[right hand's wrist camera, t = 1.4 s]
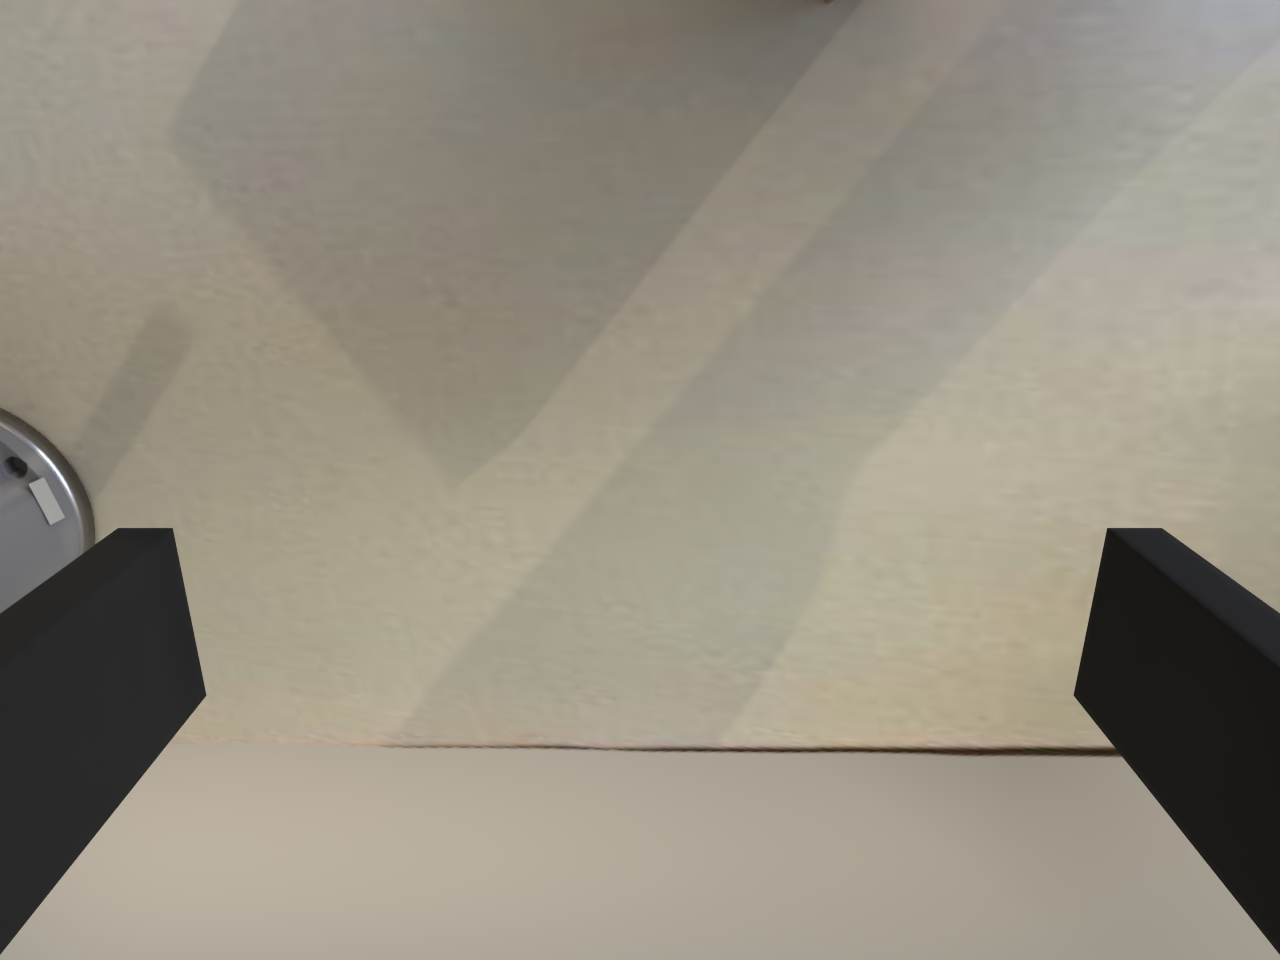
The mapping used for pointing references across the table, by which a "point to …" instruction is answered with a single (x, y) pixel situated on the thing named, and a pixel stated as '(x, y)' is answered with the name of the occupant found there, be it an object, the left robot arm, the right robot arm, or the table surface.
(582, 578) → the table surface
